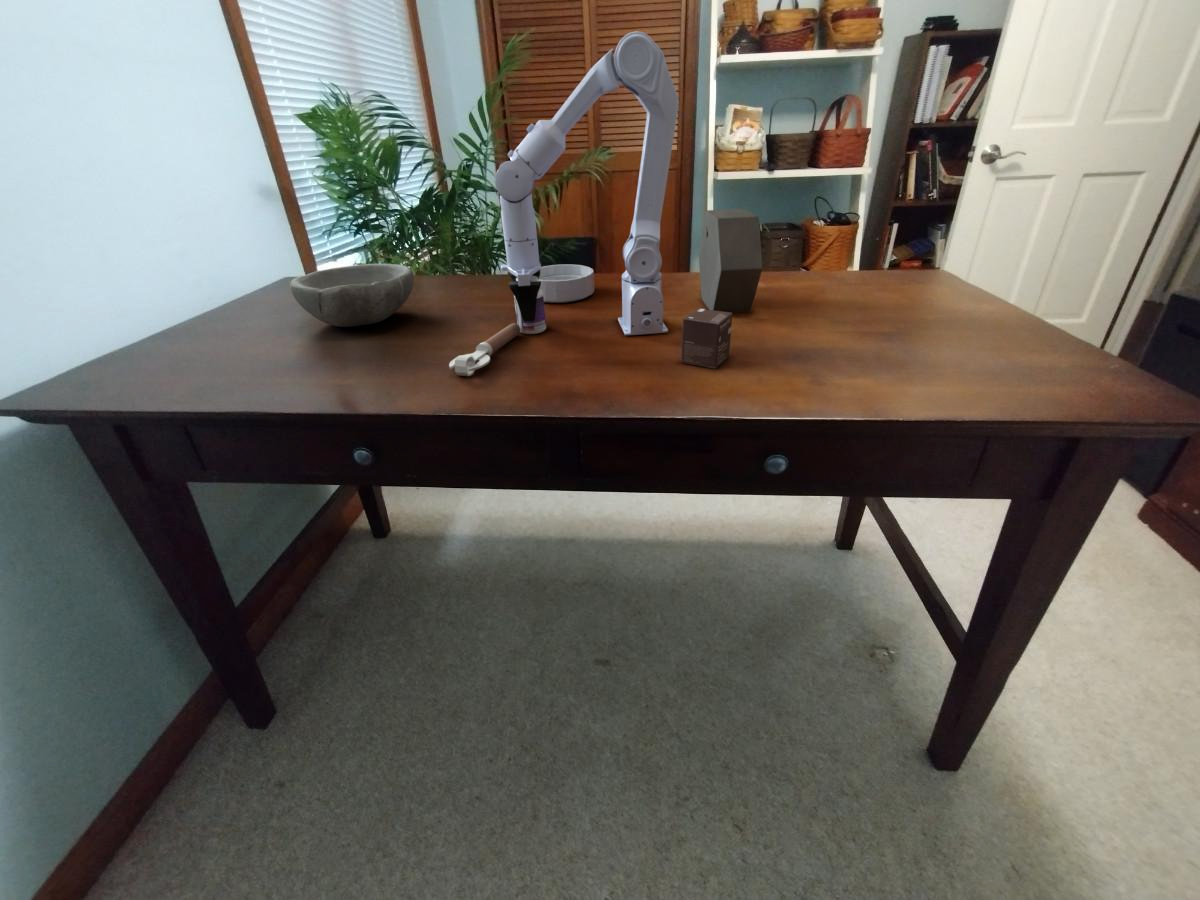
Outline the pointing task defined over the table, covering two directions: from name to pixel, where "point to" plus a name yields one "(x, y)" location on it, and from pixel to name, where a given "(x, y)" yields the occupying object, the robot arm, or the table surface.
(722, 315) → the box
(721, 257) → the planter
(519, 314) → the pill bottle
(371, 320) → the bowl
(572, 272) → the round gray tray
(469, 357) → the manual can opener
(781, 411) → the table surface
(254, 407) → the table surface
